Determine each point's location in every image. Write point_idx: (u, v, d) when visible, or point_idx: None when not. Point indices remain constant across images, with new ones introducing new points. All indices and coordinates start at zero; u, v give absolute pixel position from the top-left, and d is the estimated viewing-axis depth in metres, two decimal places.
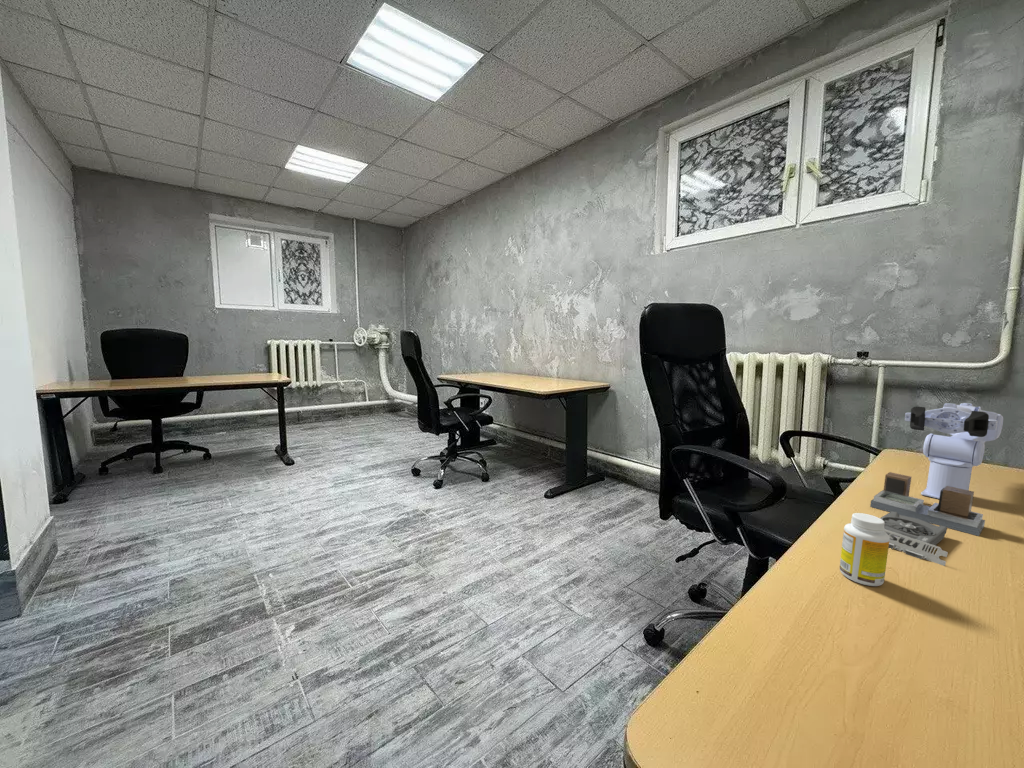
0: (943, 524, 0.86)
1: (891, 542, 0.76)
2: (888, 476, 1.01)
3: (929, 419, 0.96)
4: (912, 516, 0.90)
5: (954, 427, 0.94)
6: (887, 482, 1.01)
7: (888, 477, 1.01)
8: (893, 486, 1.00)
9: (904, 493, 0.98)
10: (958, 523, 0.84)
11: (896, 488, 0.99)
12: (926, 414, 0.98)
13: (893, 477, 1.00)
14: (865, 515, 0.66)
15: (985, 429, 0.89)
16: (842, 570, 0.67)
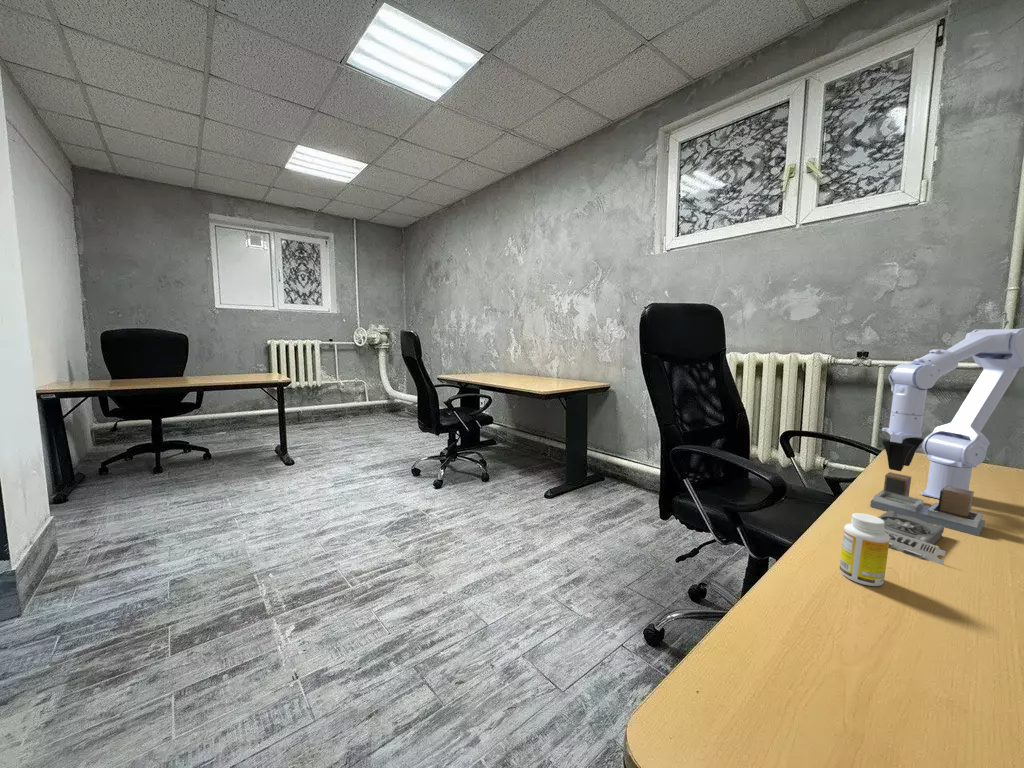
0: (943, 524, 0.86)
1: (889, 541, 0.77)
2: (888, 476, 1.01)
3: None
4: (912, 516, 0.90)
5: None
6: (887, 482, 1.01)
7: (888, 477, 1.01)
8: (893, 486, 1.00)
9: (904, 493, 0.98)
10: (958, 523, 0.84)
11: (896, 488, 0.99)
12: None
13: (893, 477, 1.00)
14: (865, 515, 0.66)
15: (902, 446, 0.95)
16: (842, 570, 0.67)
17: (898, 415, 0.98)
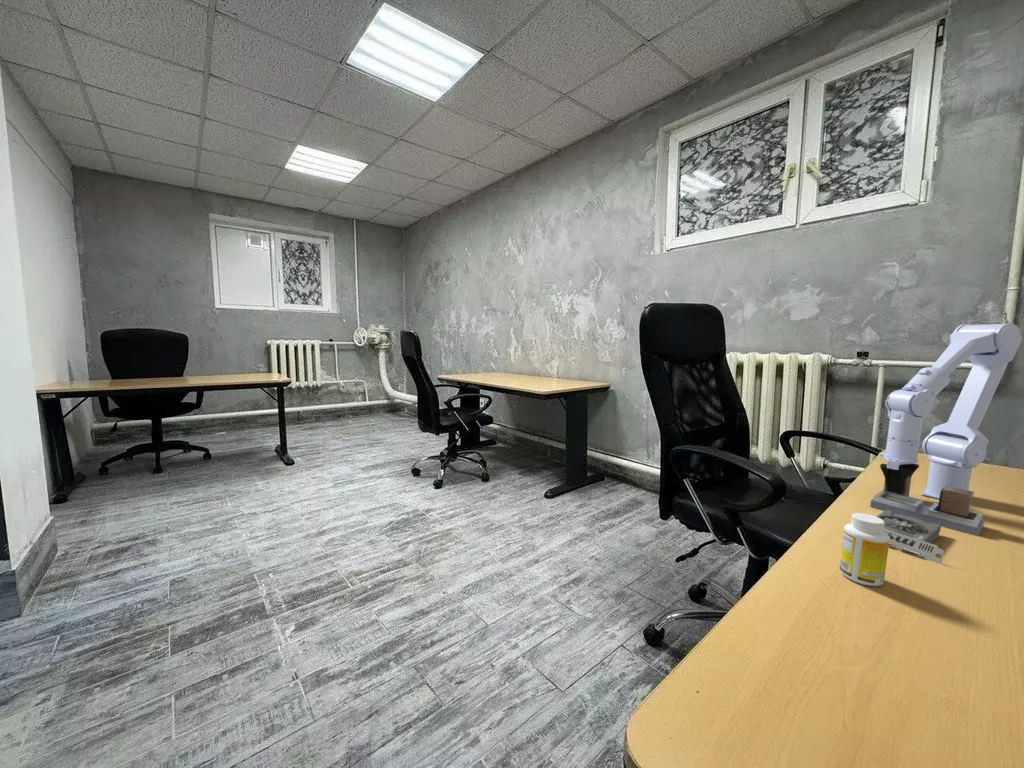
0: (943, 524, 0.86)
1: None
2: None
3: None
4: (912, 516, 0.90)
5: None
6: None
7: None
8: None
9: (904, 493, 0.98)
10: (958, 523, 0.84)
11: None
12: None
13: None
14: (865, 515, 0.66)
15: (900, 472, 0.97)
16: (842, 570, 0.67)
17: (895, 441, 0.99)
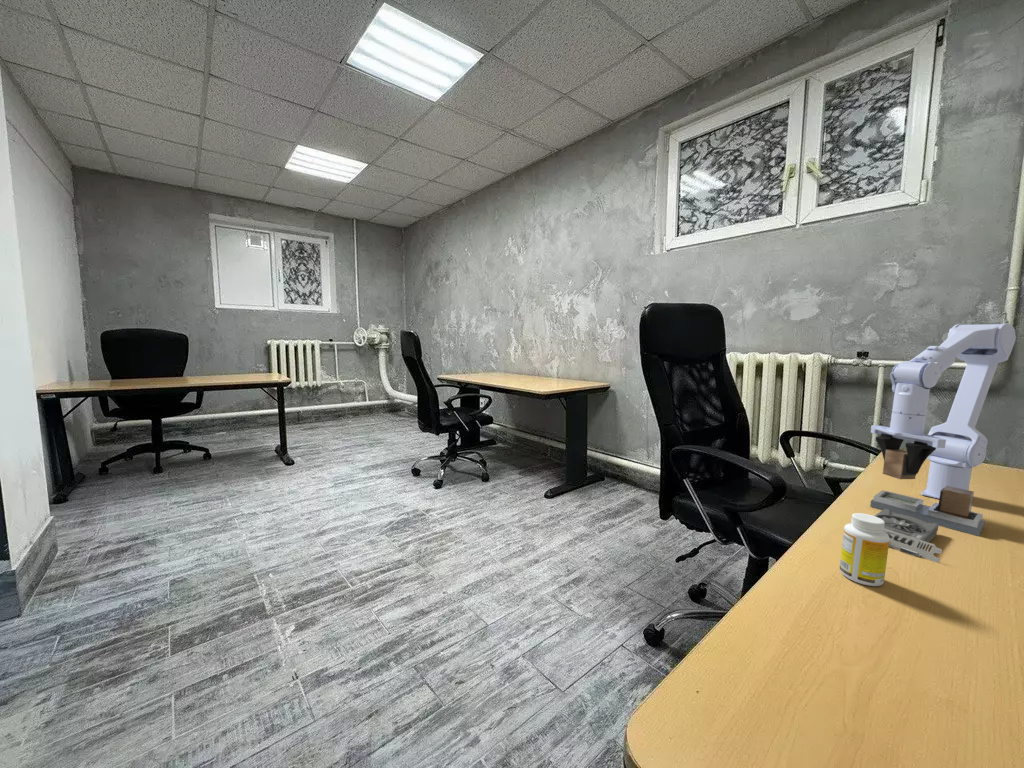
0: (943, 524, 0.86)
1: None
2: (906, 455, 0.94)
3: None
4: (912, 516, 0.90)
5: None
6: (906, 461, 0.94)
7: (906, 456, 0.94)
8: None
9: None
10: (958, 523, 0.84)
11: None
12: None
13: None
14: (865, 515, 0.66)
15: (930, 448, 0.91)
16: (842, 570, 0.67)
17: (917, 417, 0.92)
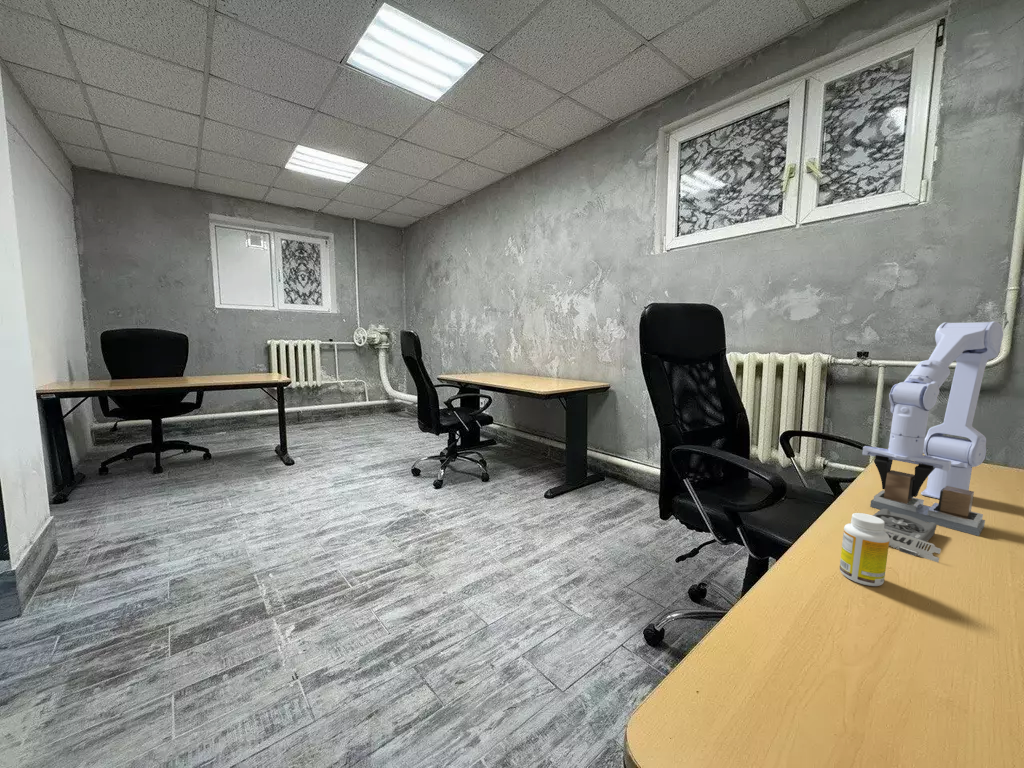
0: (943, 524, 0.86)
1: None
2: (911, 478, 0.91)
3: None
4: (912, 516, 0.90)
5: None
6: (912, 485, 0.91)
7: (912, 479, 0.91)
8: None
9: None
10: (958, 523, 0.84)
11: None
12: None
13: None
14: (865, 515, 0.66)
15: None
16: (842, 570, 0.67)
17: (922, 439, 0.90)
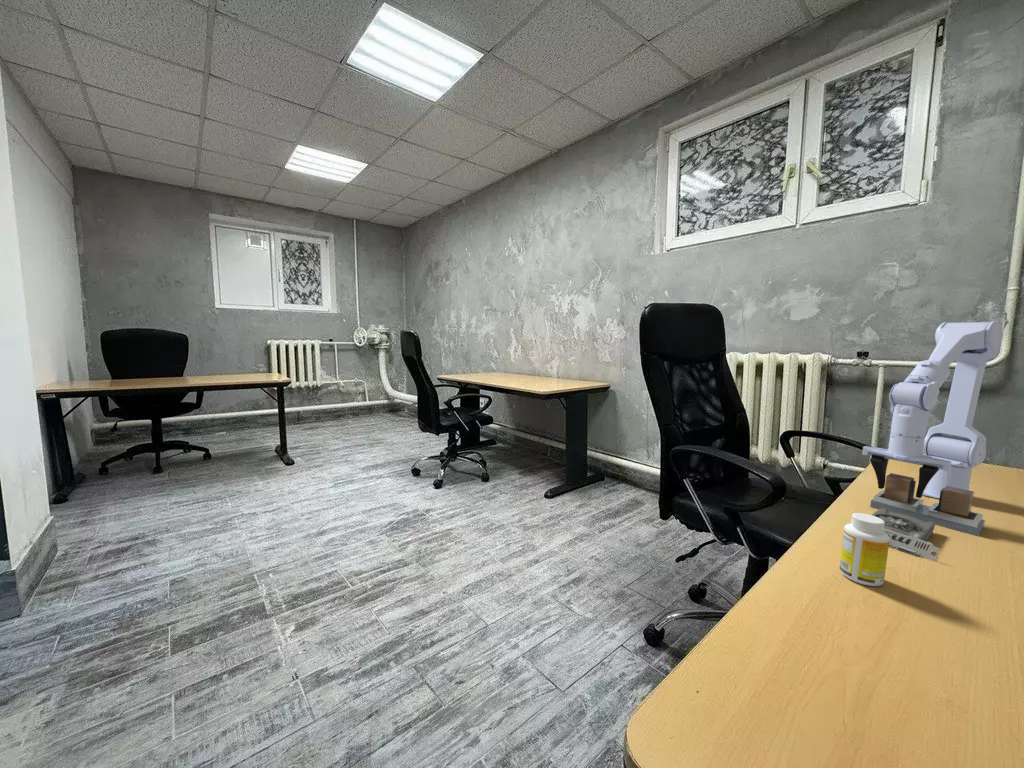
0: (943, 524, 0.86)
1: None
2: (910, 481, 0.92)
3: None
4: (912, 516, 0.90)
5: None
6: (912, 488, 0.91)
7: (911, 482, 0.92)
8: (912, 490, 0.92)
9: None
10: (958, 523, 0.84)
11: (913, 491, 0.93)
12: None
13: None
14: (865, 515, 0.66)
15: (936, 471, 0.90)
16: (842, 570, 0.67)
17: (922, 439, 0.90)
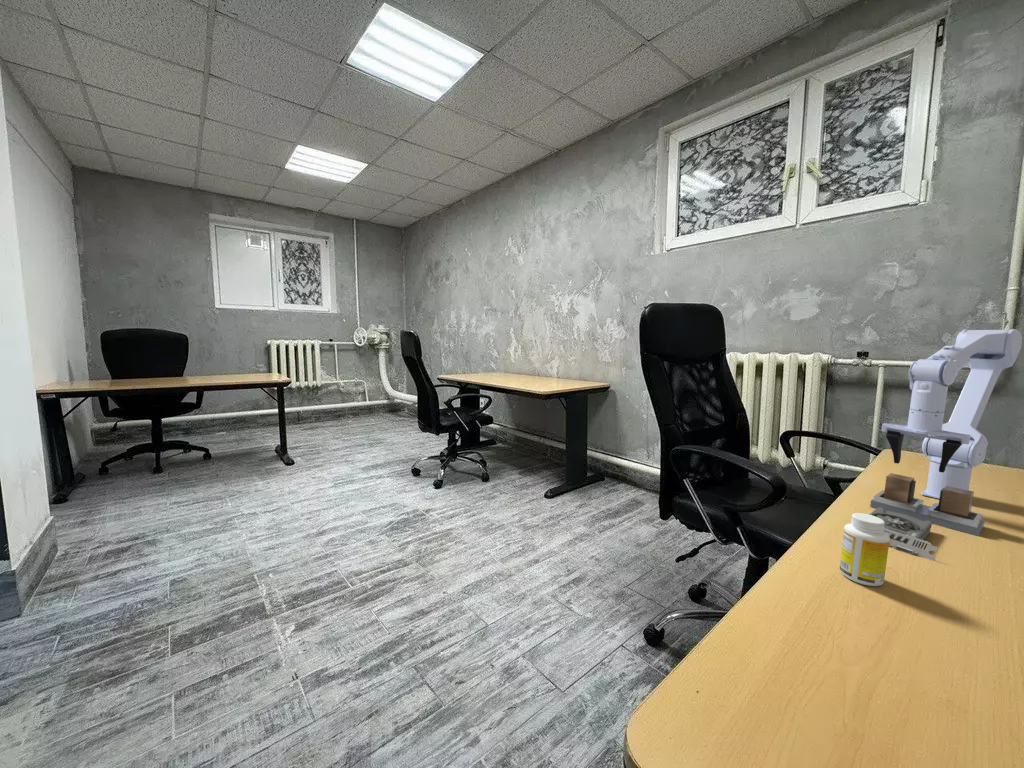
0: (943, 524, 0.86)
1: None
2: (910, 481, 0.92)
3: None
4: (912, 516, 0.90)
5: None
6: (912, 488, 0.91)
7: (911, 482, 0.92)
8: (912, 490, 0.92)
9: None
10: (958, 523, 0.84)
11: (913, 491, 0.93)
12: (901, 429, 0.98)
13: None
14: (865, 515, 0.66)
15: None
16: (842, 570, 0.67)
17: (941, 414, 0.92)
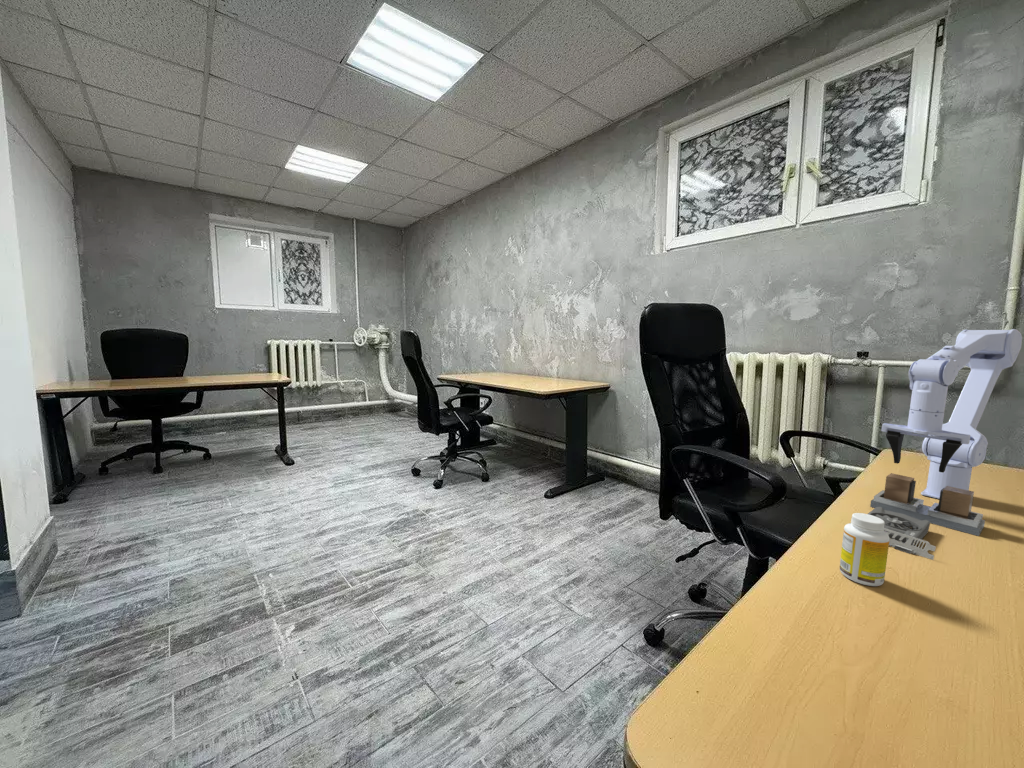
0: (943, 524, 0.86)
1: None
2: (910, 481, 0.92)
3: None
4: (912, 516, 0.90)
5: None
6: (912, 488, 0.91)
7: (911, 482, 0.92)
8: (912, 490, 0.92)
9: None
10: (958, 523, 0.84)
11: (913, 491, 0.93)
12: (901, 429, 0.98)
13: None
14: (865, 515, 0.66)
15: None
16: (842, 570, 0.67)
17: (941, 414, 0.92)
